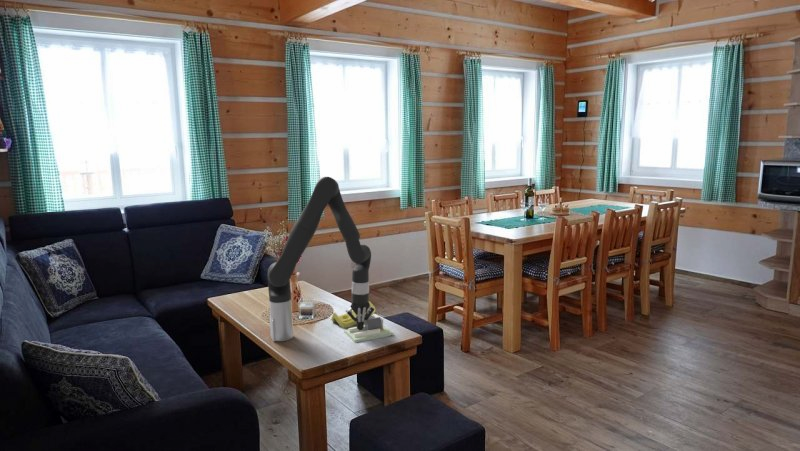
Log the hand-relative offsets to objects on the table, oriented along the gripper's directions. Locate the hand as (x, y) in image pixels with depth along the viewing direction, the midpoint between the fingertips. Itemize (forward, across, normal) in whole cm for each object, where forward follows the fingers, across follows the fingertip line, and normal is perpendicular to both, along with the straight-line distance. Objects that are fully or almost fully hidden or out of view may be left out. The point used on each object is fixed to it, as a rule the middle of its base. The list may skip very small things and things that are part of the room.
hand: (360, 329), depth 238 cm
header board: (+3, -4, 0) cm, 5 cm away
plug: (+1, -6, 0) cm, 6 cm away
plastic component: (+3, -4, -18) cm, 19 cm away
